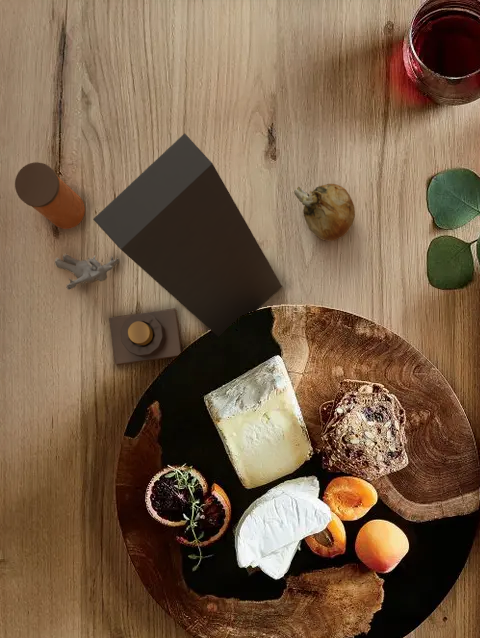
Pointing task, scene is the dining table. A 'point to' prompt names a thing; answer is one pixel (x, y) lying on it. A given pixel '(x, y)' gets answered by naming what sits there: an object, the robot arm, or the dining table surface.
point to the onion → (327, 211)
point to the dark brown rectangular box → (191, 237)
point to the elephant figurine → (85, 269)
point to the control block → (159, 347)
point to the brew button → (140, 333)
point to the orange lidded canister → (49, 195)
